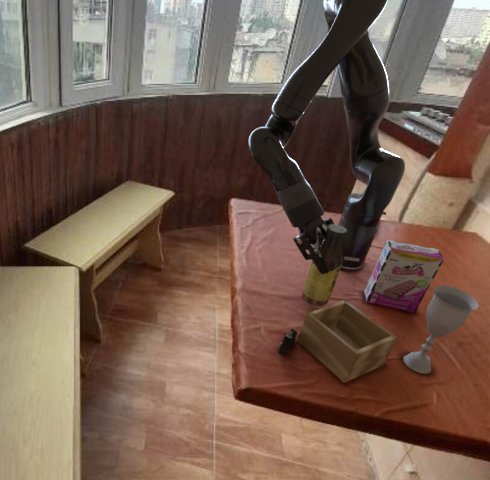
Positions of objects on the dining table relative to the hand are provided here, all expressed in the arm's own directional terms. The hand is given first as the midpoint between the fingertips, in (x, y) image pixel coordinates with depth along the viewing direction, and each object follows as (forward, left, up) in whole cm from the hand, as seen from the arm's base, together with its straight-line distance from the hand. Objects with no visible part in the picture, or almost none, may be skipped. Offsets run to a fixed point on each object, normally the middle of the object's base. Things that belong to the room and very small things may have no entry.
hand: (333, 267), depth 96 cm
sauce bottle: (0, -2, -11) cm, 11 cm away
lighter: (+18, +7, -13) cm, 23 cm away
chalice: (-5, +22, -13) cm, 25 cm away
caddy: (+8, +12, -12) cm, 19 cm away
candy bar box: (-18, +5, -13) cm, 23 cm away
